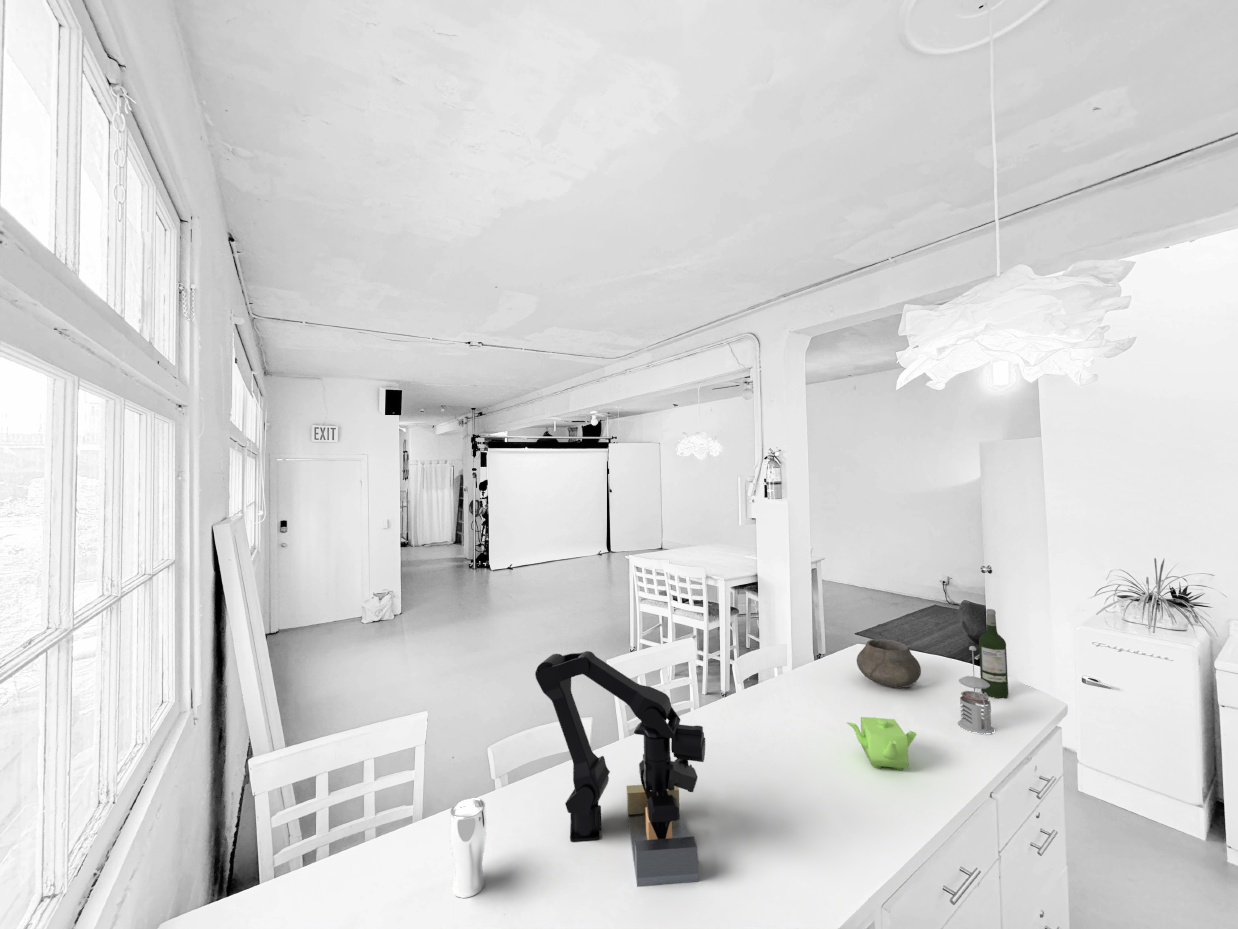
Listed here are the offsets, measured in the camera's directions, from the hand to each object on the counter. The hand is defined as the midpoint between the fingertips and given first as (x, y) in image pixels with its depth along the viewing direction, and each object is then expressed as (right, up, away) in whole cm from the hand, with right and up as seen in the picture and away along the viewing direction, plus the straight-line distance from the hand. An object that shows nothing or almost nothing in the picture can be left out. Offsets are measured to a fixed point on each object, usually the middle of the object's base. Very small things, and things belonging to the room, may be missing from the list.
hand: (658, 828), depth 112 cm
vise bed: (0, -4, 0) cm, 4 cm away
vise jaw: (-1, -2, +9) cm, 10 cm away
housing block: (0, -2, 0) cm, 2 cm away
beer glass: (-38, -4, -11) cm, 40 cm away
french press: (+103, -3, +48) cm, 114 cm away
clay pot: (+94, -5, +85) cm, 127 cm away
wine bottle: (+126, -4, +73) cm, 146 cm away
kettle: (+64, -4, +31) cm, 71 cm away
